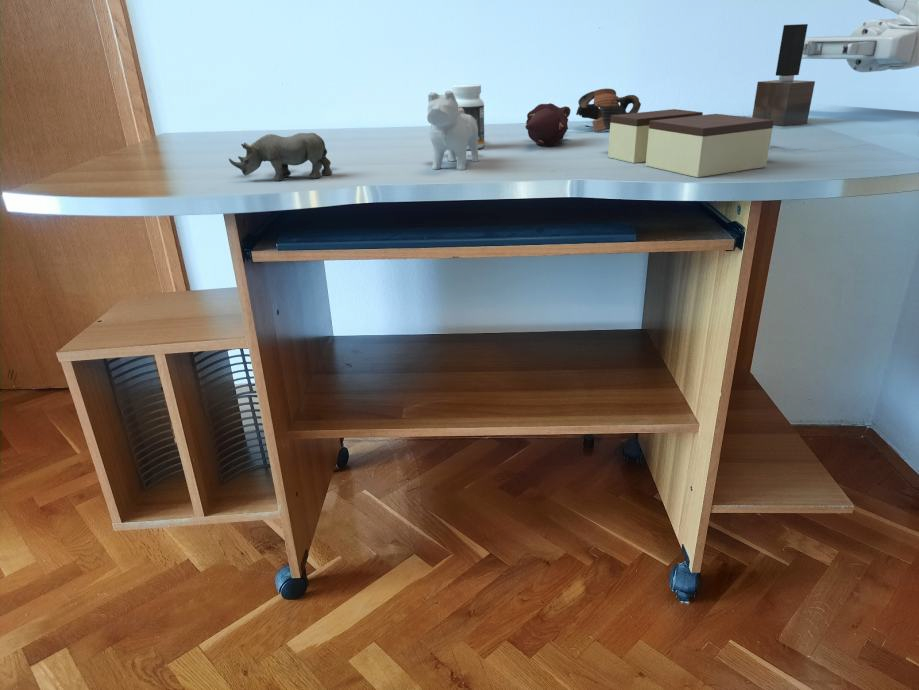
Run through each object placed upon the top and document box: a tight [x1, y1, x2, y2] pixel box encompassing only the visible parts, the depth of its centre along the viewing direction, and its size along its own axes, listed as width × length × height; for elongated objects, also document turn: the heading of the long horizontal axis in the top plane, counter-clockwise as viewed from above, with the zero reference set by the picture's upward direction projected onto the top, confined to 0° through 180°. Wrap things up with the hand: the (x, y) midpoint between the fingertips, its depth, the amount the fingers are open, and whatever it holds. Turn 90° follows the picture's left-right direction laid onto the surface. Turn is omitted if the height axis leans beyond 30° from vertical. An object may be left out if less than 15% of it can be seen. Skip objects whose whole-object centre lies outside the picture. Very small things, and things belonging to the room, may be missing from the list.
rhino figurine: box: [228, 132, 333, 182], centre depth 89 cm, size 4×14×6 cm, turn 98°
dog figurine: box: [426, 90, 479, 171], centre depth 92 cm, size 5×13×11 cm, turn 163°
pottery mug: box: [575, 88, 642, 133], centre depth 123 cm, size 12×10×8 cm
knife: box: [775, 23, 809, 82], centre depth 112 cm, size 2×3×16 cm
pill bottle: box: [452, 84, 485, 151], centre depth 107 cm, size 6×6×10 cm
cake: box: [645, 113, 774, 178], centre depth 86 cm, size 10×12×6 cm
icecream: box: [525, 102, 571, 147], centre depth 107 cm, size 7×7×15 cm
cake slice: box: [607, 108, 704, 164], centre depth 95 cm, size 6×12×6 cm, turn 115°
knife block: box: [751, 79, 816, 128], centre depth 115 cm, size 7×6×8 cm
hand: (821, 49), depth 113 cm, fingers open, 8 cm apart
